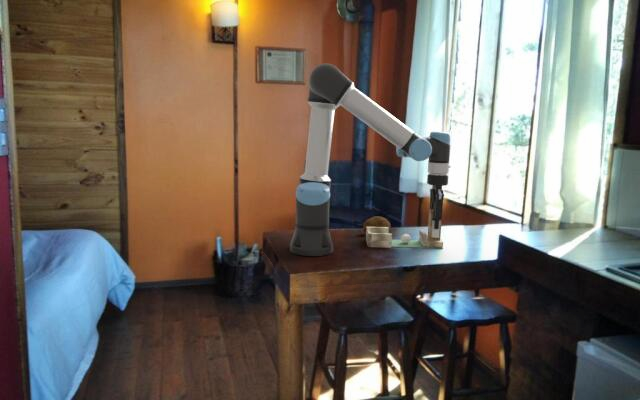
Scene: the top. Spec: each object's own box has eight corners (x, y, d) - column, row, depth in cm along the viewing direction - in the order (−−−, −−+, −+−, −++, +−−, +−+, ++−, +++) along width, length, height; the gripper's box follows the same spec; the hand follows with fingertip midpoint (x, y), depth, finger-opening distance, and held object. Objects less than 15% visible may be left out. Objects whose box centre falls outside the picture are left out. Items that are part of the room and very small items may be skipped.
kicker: (437, 240, 200) (439, 208, 198) (442, 247, 190) (445, 212, 188) (418, 239, 200) (420, 207, 198) (423, 246, 190) (425, 212, 188)
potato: (358, 234, 209) (358, 215, 208) (382, 231, 216) (383, 213, 214) (370, 238, 202) (371, 219, 201) (394, 235, 209) (395, 216, 208)
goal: (367, 246, 189) (368, 233, 189) (365, 239, 201) (366, 226, 200) (391, 247, 189) (392, 234, 188) (387, 239, 201) (388, 227, 200)
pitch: (372, 246, 190) (372, 245, 190) (369, 239, 201) (369, 238, 201) (442, 248, 190) (442, 247, 190) (437, 241, 200) (437, 240, 200)
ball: (401, 244, 193) (401, 235, 193) (400, 242, 197) (400, 232, 196) (410, 244, 193) (411, 235, 193) (409, 242, 197) (410, 233, 196)
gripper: (453, 177, 182) (449, 241, 186) (443, 171, 199) (439, 231, 203) (432, 176, 182) (428, 241, 186) (423, 171, 199) (420, 230, 203)
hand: (433, 235), depth 194 cm, fingers closed on kicker, 4 cm apart
